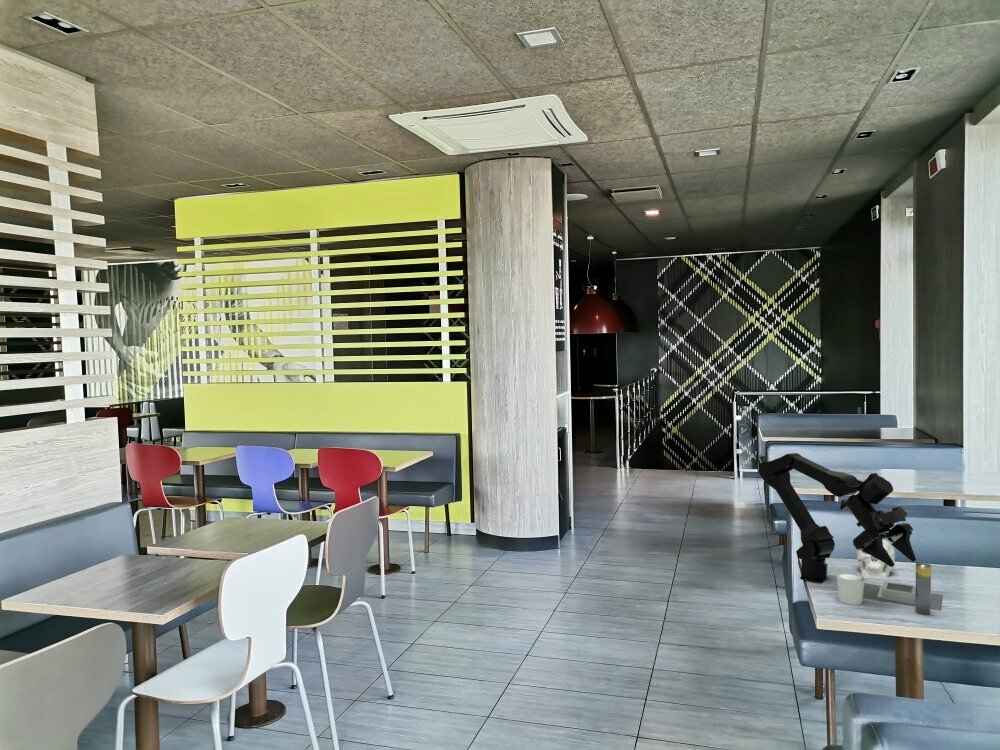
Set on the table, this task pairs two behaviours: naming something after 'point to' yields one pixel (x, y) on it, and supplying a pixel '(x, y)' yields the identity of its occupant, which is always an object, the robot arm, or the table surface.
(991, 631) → the table surface
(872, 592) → the mat
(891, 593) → the silver square tray
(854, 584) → the white cylinder
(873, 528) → the robot arm
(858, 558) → the skull bowl
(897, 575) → the table surface
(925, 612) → the grey yellow-banded cylinder
